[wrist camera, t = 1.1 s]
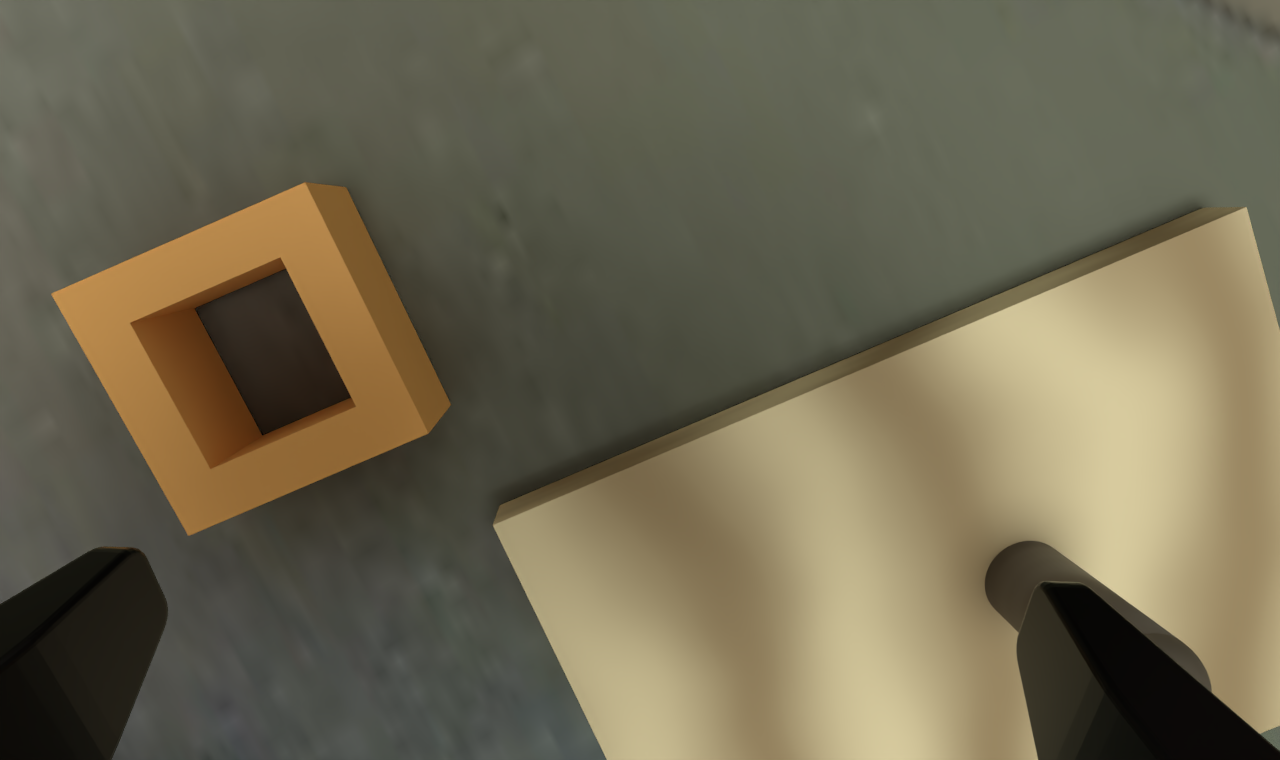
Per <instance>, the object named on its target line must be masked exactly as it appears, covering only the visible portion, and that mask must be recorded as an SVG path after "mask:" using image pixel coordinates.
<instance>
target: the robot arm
mask: <svg viewBox="0 0 1280 760" xmlns="http://www.w3.org/2000/svg"><path fill="white" fill-rule="evenodd" d="M167 616H168V607H167V601H166V598H165V596H164V594H163V592H162V590H161V587H160V585H159V583H158V581H157V579H156V577H155V574H154V572H153V570H152V568H151V566H150V564H149V561H148V559H147V557H146V556H145V554H144V553H143V552H141V551H140V550H139V549H136V548H129V547H99V548H95V549H93V550H91V551H89V552H87V553H85V554H84V555H82V556H80V557H79V558H77V559H75V560H74V561H72V562H70V563H69V564H67V565H65V566H63V567H62V568H60V569H58V570H57V571H55V572H53V573H52V574H50V575H48V576H47V577H45V578H43V579H42V580H40V581H38V582H37V583H35V584H33V585H32V586H30V587H28V588H27V589H25V590H23V591H22V592H20V593H18V594H17V595H15V596H13V597H12V598H10V599H8V600H6V601H5V602H3V603H1V604H0V760H111V759H112V757H113V755H114V752H115V750H116V748H117V745H118V743H119V741H120V738H121V736H122V733H123V731H124V728H125V726H126V723H127V721H128V718H129V716H130V713H131V711H132V708H133V706H134V703H135V701H136V698H137V696H138V693H139V691H140V688H141V686H142V683H143V681H144V678H145V676H146V673H147V671H148V668H149V666H150V663H151V661H152V658H153V656H154V653H155V651H156V648H157V646H158V643H159V641H160V638H161V636H162V633H163V631H164V628H165V625H166V621H167ZM1016 654H1017V662H1018V667H1019V672H1020V676H1021V681H1022V686H1023V691H1024V695H1025V700H1026V705H1027V710H1028V715H1029V719H1030V724H1031V729H1032V734H1033V738H1034V743H1035V748H1036V753H1037V757H1038V760H1280V751H1279V750H1278V749H1277V748H1275V747H1274V746H1273V745H1272V744H1271V743H1270V742H1268V741H1267V740H1266V739H1265V738H1264V737H1263V736H1262V735H1260V734H1259V733H1258V732H1257V731H1256V730H1255V729H1253V728H1252V727H1251V726H1250V725H1249V724H1248V723H1246V722H1245V721H1244V720H1243V719H1242V718H1241V717H1240V716H1238V715H1237V714H1236V713H1235V712H1234V711H1233V710H1231V709H1230V708H1229V707H1228V706H1227V705H1226V704H1224V703H1223V702H1222V701H1221V700H1220V699H1219V698H1218V697H1216V696H1215V695H1214V694H1213V693H1212V692H1211V691H1209V690H1208V689H1207V688H1206V687H1205V686H1204V685H1202V684H1201V683H1200V682H1199V681H1198V680H1197V679H1196V678H1194V677H1193V676H1192V675H1191V674H1190V673H1189V672H1187V671H1186V670H1185V669H1184V668H1183V667H1182V666H1180V665H1179V664H1178V663H1177V662H1176V661H1175V660H1174V659H1172V658H1171V657H1170V656H1169V655H1168V654H1167V653H1165V652H1164V651H1163V650H1162V649H1161V648H1160V647H1158V646H1157V645H1156V644H1155V643H1154V642H1153V641H1152V640H1150V639H1149V638H1148V637H1147V636H1146V635H1145V634H1143V633H1142V632H1141V631H1140V630H1139V629H1138V628H1136V627H1135V626H1134V625H1133V624H1132V623H1131V622H1130V621H1128V620H1127V619H1126V618H1125V617H1124V616H1123V615H1121V614H1120V613H1119V612H1118V611H1117V610H1116V609H1114V608H1113V607H1112V606H1111V605H1110V604H1109V603H1108V602H1106V601H1105V600H1104V599H1103V598H1102V597H1101V596H1099V595H1098V594H1097V593H1096V592H1095V591H1094V590H1092V589H1091V588H1090V587H1088V586H1087V585H1085V584H1083V583H1079V582H1064V581H1042V582H1040V583H1038V584H1037V585H1036V586H1035V588H1034V590H1033V592H1032V595H1031V598H1030V601H1029V604H1028V607H1027V610H1026V613H1025V616H1024V618H1023V621H1022V624H1021V627H1020V630H1019V633H1018V637H1017V644H1016Z"/></svg>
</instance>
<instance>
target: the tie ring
mask: <svg viewBox="0 0 1280 760" xmlns="http://www.w3.org/2000/svg"><path fill="white" fill-rule="evenodd" d="M283 269H287V271H288V273H289V275H290V277H291V279H292V281H293V283H294V285H295V287H296V289H297V291H298V293H299V295H300V297H301V299H302V301H303V303H304V305H305V307H306V309H307V311H308V313H309V315H310V317H311V319H312V321H313V323H314V325H315V326H316V328H317V330H318V332H319V334H320V336H321V338H322V340H323V342H324V344H325V346H326V348H327V350H328V352H329V354H330V356H331V358H332V360H333V362H334V364H335V366H336V368H337V370H338V372H339V374H340V376H341V378H342V380H343V382H344V384H345V386H346V388H347V390H348V392H349V394H350V396H351V398H349V399H346V400H344V401H342V402H339V403H337V404H335V405H332V406H330V407H328V408H325V409H323V410H321V411H318V412H316V413H314V414H311V415H309V416H307V417H304V418H302V419H300V420H297V421H295V422H293V423H290V424H288V425H286V426H283V427H281V428H279V429H276V430H274V431H272V432H269V433H267V434H265V435H262V434H261V432H260V430H259V428H258V427H257V425H256V423H255V421H254V419H253V417H252V415H251V414H250V412H249V410H248V408H247V406H246V404H245V402H244V400H243V399H242V397H241V395H240V393H239V391H238V389H237V387H236V385H235V384H234V382H233V380H232V378H231V376H230V374H229V372H228V370H227V369H226V367H225V365H224V363H223V361H222V359H221V357H220V355H219V354H218V352H217V350H216V348H215V346H214V344H213V342H212V341H211V339H210V337H209V335H208V333H207V331H206V329H205V327H204V326H203V324H202V322H201V320H200V318H199V316H198V314H197V312H196V311H195V309H194V308H196V307H199V306H201V305H203V304H205V303H208V302H210V301H212V300H215V299H217V298H219V297H221V296H224V295H226V294H228V293H231V292H233V291H235V290H238V289H240V288H242V287H244V286H247V285H249V284H251V283H254V282H256V281H258V280H261V279H263V278H265V277H267V276H270V275H272V274H274V273H277V272H279V271H281V270H283ZM52 296H53V298H54V300H55V302H56V303H57V305H58V307H59V309H60V310H61V312H62V314H63V316H64V317H65V319H66V321H67V323H68V324H69V326H70V328H71V330H72V331H73V333H74V335H75V337H76V339H77V340H78V342H79V344H80V346H81V347H82V349H83V351H84V353H85V354H86V356H87V358H88V360H89V361H90V363H91V365H92V367H93V369H94V370H95V372H96V374H97V376H98V377H99V379H100V381H101V383H102V384H103V386H104V388H105V390H106V391H107V393H108V395H109V397H110V398H111V400H112V402H113V404H114V406H115V407H116V409H117V411H118V413H119V414H120V416H121V418H122V420H123V421H124V423H125V425H126V427H127V428H128V430H129V432H130V434H131V435H132V437H133V439H134V441H135V443H136V444H137V446H138V448H139V450H140V451H141V453H142V455H143V457H144V458H145V460H146V462H147V464H148V465H149V467H150V469H151V471H152V472H153V474H154V476H155V478H156V480H157V481H158V483H159V485H160V487H161V488H162V490H163V492H164V494H165V495H166V497H167V499H168V501H169V502H170V504H171V506H172V508H173V509H174V511H175V513H176V515H177V517H178V518H179V520H180V522H181V524H182V525H183V527H184V529H185V531H186V532H187V534H188V536H190V535H192V534H194V533H197V532H199V531H201V530H204V529H206V528H208V527H211V526H213V525H215V524H218V523H220V522H222V521H225V520H227V519H229V518H232V517H234V516H236V515H239V514H241V513H243V512H246V511H248V510H250V509H253V508H255V507H258V506H260V505H262V504H265V503H267V502H269V501H272V500H274V499H276V498H279V497H281V496H283V495H286V494H288V493H290V492H293V491H295V490H297V489H300V488H302V487H304V486H307V485H309V484H311V483H314V482H316V481H318V480H321V479H323V478H325V477H328V476H330V475H332V474H335V473H337V472H339V471H342V470H344V469H347V468H349V467H351V466H354V465H356V464H358V463H361V462H363V461H365V460H368V459H370V458H372V457H375V456H377V455H379V454H382V453H384V452H386V451H389V450H391V449H393V448H396V447H398V446H400V445H403V444H405V443H407V442H410V441H412V440H414V439H417V438H419V437H421V436H424V435H426V434H428V433H429V432H430V431H431V430H432V428H433V427H434V426H435V425H436V423H437V422H438V421H439V420H440V418H441V417H442V416H443V414H444V413H445V412H446V411H447V409H448V408H449V407H450V406H451V403H450V401H449V399H448V397H447V395H446V393H445V391H444V389H443V387H442V385H441V383H440V381H439V379H438V376H437V374H436V372H435V370H434V368H433V366H432V364H431V362H430V360H429V358H428V356H427V354H426V352H425V350H424V347H423V345H422V343H421V341H420V339H419V337H418V335H417V333H416V331H415V329H414V327H413V325H412V323H411V320H410V318H409V316H408V314H407V312H406V310H405V308H404V306H403V304H402V302H401V300H400V298H399V296H398V294H397V291H396V289H395V287H394V285H393V283H392V281H391V279H390V277H389V275H388V273H387V271H386V269H385V267H384V265H383V262H382V260H381V258H380V256H379V254H378V252H377V250H376V248H375V246H374V244H373V242H372V240H371V238H370V236H369V233H368V231H367V229H366V227H365V225H364V223H363V221H362V219H361V217H360V215H359V213H358V211H357V209H356V207H355V204H354V202H353V200H352V198H351V196H350V194H349V192H348V190H347V188H346V187H340V186H332V185H323V184H315V183H306V182H305V183H302V184H300V185H298V186H296V187H293V188H291V189H289V190H286V191H284V192H282V193H280V194H277V195H275V196H273V197H271V198H268V199H266V200H264V201H261V202H259V203H257V204H255V205H252V206H250V207H248V208H245V209H243V210H241V211H239V212H236V213H234V214H232V215H230V216H227V217H225V218H223V219H220V220H218V221H216V222H214V223H211V224H209V225H207V226H204V227H202V228H200V229H198V230H195V231H193V232H191V233H189V234H186V235H184V236H182V237H179V238H177V239H175V240H173V241H170V242H168V243H166V244H163V245H161V246H159V247H157V248H154V249H152V250H150V251H147V252H145V253H143V254H141V255H138V256H136V257H134V258H132V259H129V260H127V261H125V262H122V263H120V264H118V265H116V266H113V267H111V268H109V269H106V270H104V271H102V272H100V273H97V274H95V275H93V276H91V277H88V278H86V279H84V280H81V281H79V282H77V283H75V284H72V285H70V286H68V287H65V288H63V289H61V290H59V291H56V292H54V293H52Z"/></svg>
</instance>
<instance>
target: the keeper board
mask: <svg viewBox="0 0 1280 760" xmlns="http://www.w3.org/2000/svg"><path fill="white" fill-rule="evenodd" d="M493 527H494V529H495V531H496V533H497V535H498V537H499V539H500V541H501V543H502V545H503V547H504V549H505V551H506V553H507V556H508V558H509V560H510V562H511V564H512V566H513V568H514V570H515V572H516V574H517V576H518V578H519V580H520V582H521V584H522V586H523V588H524V590H525V592H526V595H527V597H528V599H529V601H530V603H531V605H532V607H533V609H534V611H535V613H536V615H537V617H538V619H539V621H540V623H541V625H542V627H543V629H544V631H545V634H546V636H547V638H548V640H549V642H550V644H551V646H552V648H553V650H554V652H555V654H556V656H557V658H558V660H559V662H560V664H561V666H562V668H563V671H564V673H565V675H566V677H567V679H568V681H569V683H570V685H571V687H572V689H573V691H574V693H575V695H576V697H577V699H578V701H579V703H580V705H581V707H582V710H583V712H584V714H585V716H586V718H587V720H588V722H589V724H590V726H591V728H592V730H593V732H594V734H595V736H596V738H597V740H598V742H599V744H600V746H601V749H602V751H603V753H604V755H605V757H606V759H607V760H1038V757H1037V753H1036V748H1035V743H1034V738H1033V734H1032V729H1031V724H1030V719H1029V715H1028V710H1027V705H1026V700H1025V695H1024V691H1023V686H1022V681H1021V676H1020V672H1019V667H1018V662H1017V654H1016V644H1017V637H1018V633H1019V630H1020V627H1021V624H1022V621H1023V618H1024V616H1025V613H1026V610H1027V607H1028V604H1029V601H1030V598H1031V595H1032V592H1033V590H1034V588H1035V586H1036V585H1037V584H1038V583H1040V582H1042V581H1064V582H1079V583H1083V584H1085V585H1087V586H1088V587H1090V588H1091V589H1092V590H1094V591H1095V592H1096V593H1097V594H1098V595H1099V596H1101V597H1102V598H1103V599H1104V600H1105V601H1106V602H1108V603H1109V604H1110V605H1111V606H1112V607H1113V608H1114V609H1116V610H1117V611H1118V612H1119V613H1120V614H1121V615H1123V616H1124V617H1125V618H1126V619H1127V620H1128V621H1130V622H1131V623H1132V624H1133V625H1134V626H1135V627H1136V628H1138V629H1139V630H1140V631H1141V632H1142V633H1143V634H1145V635H1146V636H1147V637H1148V638H1149V639H1150V640H1152V641H1153V642H1154V643H1155V644H1156V645H1157V646H1158V647H1160V648H1161V649H1162V650H1163V651H1164V652H1165V653H1167V654H1168V655H1169V656H1170V657H1171V658H1172V659H1174V660H1175V661H1176V662H1177V663H1178V664H1179V665H1180V666H1182V667H1183V668H1184V669H1185V670H1186V671H1187V672H1189V673H1190V674H1191V675H1192V676H1193V677H1194V678H1196V679H1197V680H1198V681H1199V682H1200V683H1201V684H1202V685H1204V686H1205V687H1206V688H1207V689H1208V690H1209V691H1211V692H1212V693H1213V694H1214V695H1215V696H1216V697H1218V698H1219V699H1220V700H1221V701H1222V702H1223V703H1224V704H1226V705H1227V706H1228V707H1229V708H1230V709H1231V710H1233V711H1234V712H1235V713H1236V714H1237V715H1238V716H1240V717H1241V718H1242V719H1243V720H1244V721H1245V722H1246V723H1248V724H1249V725H1250V726H1251V727H1252V728H1253V729H1255V730H1256V731H1257V732H1258V733H1259V734H1260V733H1262V732H1265V731H1267V730H1270V729H1272V728H1275V727H1277V726H1280V330H1279V326H1278V323H1277V319H1276V315H1275V311H1274V308H1273V304H1272V300H1271V297H1270V293H1269V289H1268V285H1267V282H1266V278H1265V274H1264V271H1263V267H1262V263H1261V260H1260V256H1259V252H1258V248H1257V245H1256V241H1255V237H1254V234H1253V230H1252V226H1251V222H1250V219H1249V215H1248V211H1247V208H1246V207H1215V208H1201V209H1199V210H1197V211H1194V212H1192V213H1190V214H1187V215H1185V216H1182V217H1180V218H1178V219H1175V220H1173V221H1171V222H1168V223H1166V224H1164V225H1161V226H1159V227H1156V228H1154V229H1152V230H1149V231H1147V232H1145V233H1142V234H1140V235H1138V236H1135V237H1133V238H1130V239H1128V240H1126V241H1123V242H1121V243H1119V244H1116V245H1114V246H1112V247H1109V248H1107V249H1104V250H1102V251H1100V252H1097V253H1095V254H1093V255H1090V256H1088V257H1086V258H1083V259H1081V260H1078V261H1076V262H1074V263H1071V264H1069V265H1067V266H1064V267H1062V268H1060V269H1057V270H1055V271H1052V272H1050V273H1048V274H1045V275H1043V276H1041V277H1038V278H1036V279H1034V280H1031V281H1029V282H1026V283H1024V284H1022V285H1019V286H1017V287H1015V288H1012V289H1010V290H1008V291H1005V292H1003V293H1000V294H998V295H996V296H993V297H991V298H989V299H986V300H984V301H982V302H979V303H977V304H974V305H972V306H970V307H967V308H965V309H963V310H960V311H958V312H956V313H953V314H951V315H948V316H946V317H944V318H941V319H939V320H937V321H934V322H932V323H929V324H927V325H925V326H922V327H920V328H918V329H915V330H913V331H911V332H908V333H906V334H903V335H901V336H899V337H896V338H894V339H892V340H889V341H887V342H885V343H882V344H880V345H877V346H875V347H873V348H870V349H868V350H866V351H863V352H861V353H859V354H856V355H854V356H851V357H849V358H847V359H844V360H842V361H840V362H837V363H835V364H833V365H830V366H828V367H825V368H823V369H821V370H818V371H816V372H814V373H811V374H809V375H807V376H804V377H802V378H799V379H797V380H795V381H792V382H790V383H788V384H785V385H783V386H781V387H778V388H776V389H773V390H771V391H769V392H766V393H764V394H762V395H759V396H757V397H755V398H752V399H750V400H747V401H745V402H743V403H740V404H738V405H736V406H733V407H731V408H729V409H726V410H724V411H721V412H719V413H717V414H714V415H712V416H710V417H707V418H705V419H703V420H700V421H698V422H695V423H693V424H691V425H688V426H686V427H684V428H681V429H679V430H677V431H674V432H672V433H669V434H667V435H665V436H662V437H660V438H658V439H655V440H653V441H651V442H648V443H646V444H643V445H641V446H639V447H636V448H634V449H632V450H629V451H627V452H625V453H622V454H620V455H617V456H615V457H613V458H610V459H608V460H606V461H603V462H601V463H599V464H596V465H594V466H591V467H589V468H587V469H584V470H582V471H580V472H577V473H575V474H573V475H570V476H568V477H565V478H563V479H561V480H558V481H556V482H554V483H551V484H549V485H547V486H544V487H542V488H539V489H537V490H535V491H532V492H530V493H528V494H525V495H523V496H521V497H518V498H516V499H513V500H511V501H509V502H506V503H504V504H502V505H500V506H499V509H498V512H497V514H496V517H495V520H494V523H493Z"/></svg>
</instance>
